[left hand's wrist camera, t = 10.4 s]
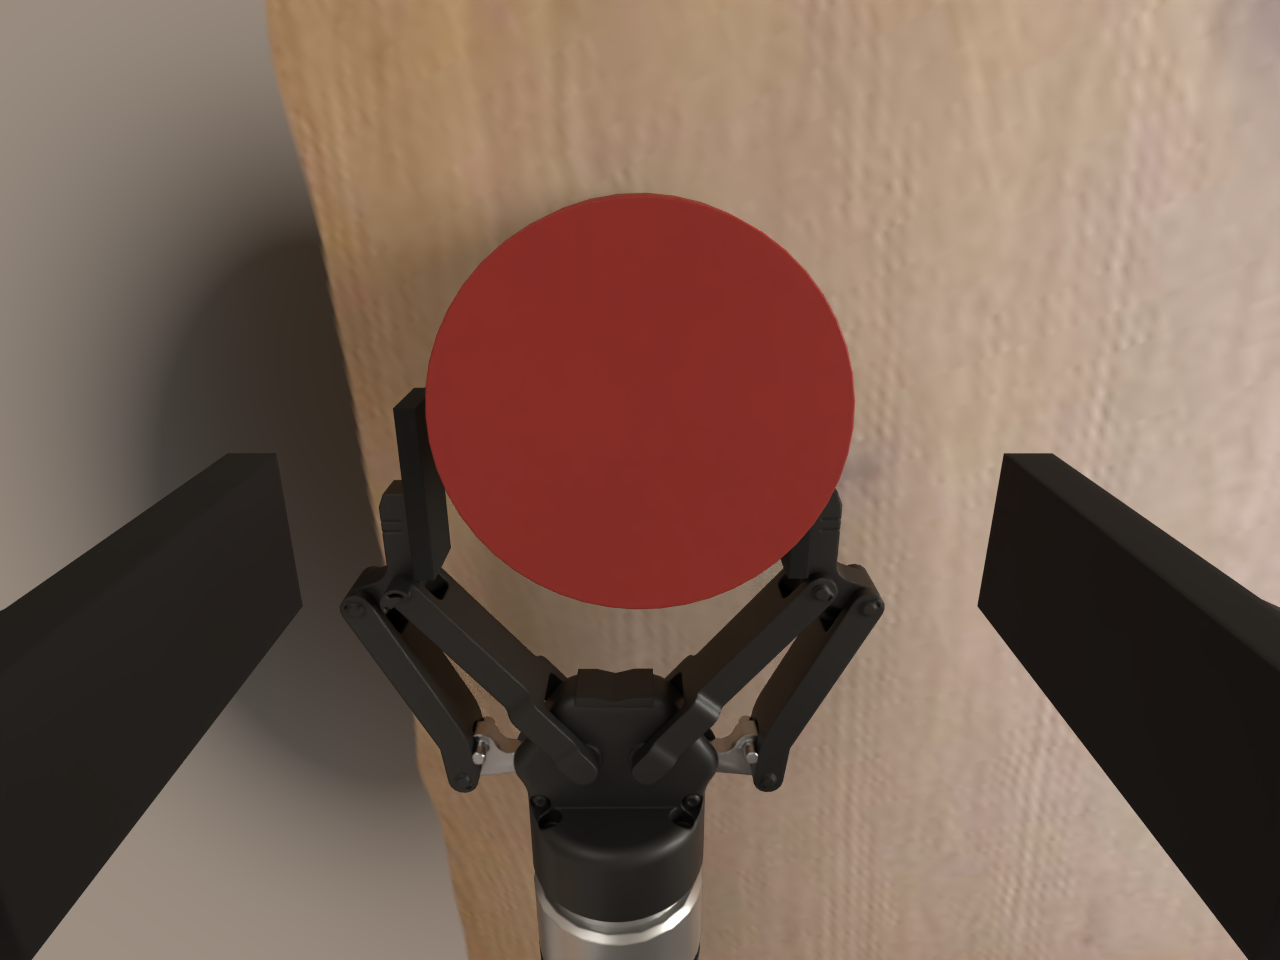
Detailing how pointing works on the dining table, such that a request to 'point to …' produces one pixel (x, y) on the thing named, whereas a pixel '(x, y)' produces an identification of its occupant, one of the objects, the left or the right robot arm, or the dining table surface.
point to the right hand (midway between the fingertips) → (608, 395)
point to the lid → (639, 401)
